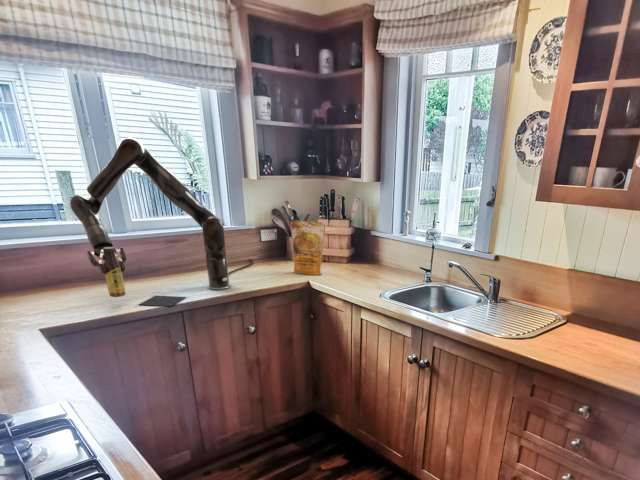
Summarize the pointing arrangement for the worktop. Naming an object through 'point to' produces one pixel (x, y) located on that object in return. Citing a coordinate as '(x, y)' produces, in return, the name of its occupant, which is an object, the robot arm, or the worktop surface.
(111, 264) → the sauce bottle
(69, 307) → the worktop surface
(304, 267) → the pancake mix bag
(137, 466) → the worktop surface
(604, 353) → the worktop surface
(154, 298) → the mat
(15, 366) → the worktop surface
